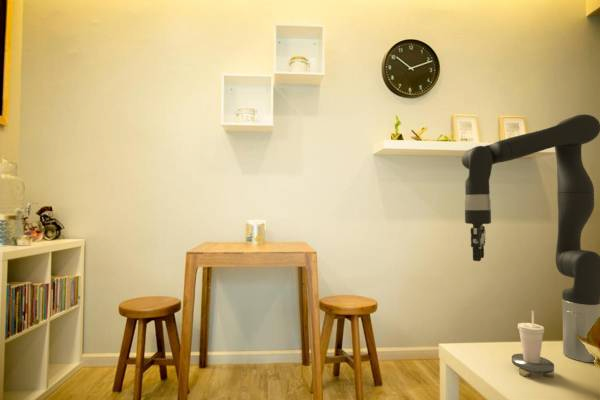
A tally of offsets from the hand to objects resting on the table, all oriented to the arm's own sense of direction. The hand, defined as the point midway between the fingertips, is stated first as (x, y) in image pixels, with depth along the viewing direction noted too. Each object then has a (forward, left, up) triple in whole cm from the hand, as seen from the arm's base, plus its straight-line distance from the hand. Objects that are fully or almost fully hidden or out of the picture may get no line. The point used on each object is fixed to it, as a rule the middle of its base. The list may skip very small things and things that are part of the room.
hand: (478, 259), depth 114 cm
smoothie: (+7, +14, -27) cm, 31 cm away
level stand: (+7, +14, -30) cm, 34 cm away
